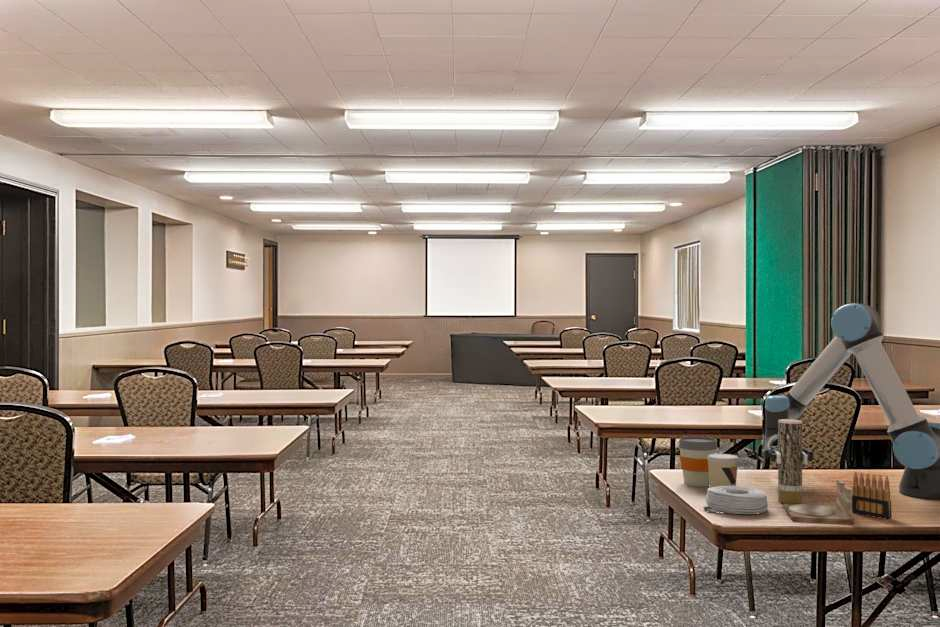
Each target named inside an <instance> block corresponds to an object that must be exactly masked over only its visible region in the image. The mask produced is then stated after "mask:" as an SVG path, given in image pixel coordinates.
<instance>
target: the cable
mask: <svg viewBox="0 0 940 627" xmlns="http://www.w3.org/2000/svg"><path fill="white" fill-rule="evenodd" d="M706 492H707V493H706V497H705V502H706V505H705V506H703V510H704V509H707V510H706V512H707V511H709V512H708V513H711V512H723V513H733V514H732V515H758V514H757V513H761V514H763V513H762V512H764V513H766V512H767V510H768V499H767V497H768V495H767V493H766V492H765V491H763V490H762V489H760V488H756V487H751V486H743V485H742V486H741V485H736V486H718V487H711V488H710V487H708V488H707V490H706ZM723 513H722V514H723Z"/></svg>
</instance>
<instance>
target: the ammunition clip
mask: <svg viewBox="0 0 940 627" xmlns="http://www.w3.org/2000/svg"><path fill="white" fill-rule="evenodd" d="M870 477H871V476H870V474H869V472H867V473H866V476H865V477H864V473H863V472H861V473H860V474H859V478H858V473H857V471H855V472H854V473H853V479H852V481H853V482H852V512H853V513H852V514H855V513H858V514H857V515H861V514H863V516H866V515H869V516H868V517H871V516H875V517H874V518H877V517H881V518H880V519H882V518H886V519H885V520H888V519H889V520H891V519H890V518H892V500H891V490H890V489H891V487H890V480H889V476H887V475H886V476H885V480H884V481H883V478H882V475H881V474H880V475H879V476H878V480H877V477H876V475H875V473H873V474H872V479H871V478H870ZM858 479H859V480H858ZM892 519H893V518H892Z"/></svg>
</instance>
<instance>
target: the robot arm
mask: <svg viewBox="0 0 940 627" xmlns="http://www.w3.org/2000/svg"><path fill="white" fill-rule="evenodd" d="M880 325H881V319H880V315H879V313H878V311H877V309H875V307H873V306H870V305H869V304H865V303H856V302H851V303H847V304H844V305H842V306H840V307H838V308H837V309H836V310H835V311H834V312H833V314H832V316H831V318H830V326H831V327H830V328H831V330H832V332H833V334H834V335H835V336H834V337H833V338H832V339H831V341H830V342H829V343H828V345H826V347H824V349H823V350H822V351H821V352H820V353H819V355H818V356H817V357H816V358H815V360H814V361H813V362H812V363H811V364H810V365H809V367H808V368H807V369H806V371H805V372H804V373H803V374H802V375H801V376H800V377H799V379H797V381H796V382H795V384H794V385H793V386H792V387H791V388H790V389H789V391H788V392H787V393H786V394H785V395H767V396H766V397H765V404H764V409H765V412H764V414H765V416H764V417H765V419H764V420H765V422H764V423H765V424H764V426H765V429H764V430H765V431H764V433H765V434H764V437H763V445H762V447H761V454H762V455H763V456H764V459H765V460H768V459H769V458H770V462H774V463H775V462H776V463H777V464H781V454H780V453H779V452H778V421H779V420H780V419H793V420H798V418H799V417H801V416H802V415H803V413H804V411H805V410H804V409H806V408H807V406H808V405H809V404H810V403H811V402H812V400H813V399H814V398H815V397H816V395H818V393H819V392H820V391H821V390H822V389H823V387H825V385H826V384H827V383H828V382H829V380H830V379H831V378H833V377H834V374H836V372H837V371H838V370H839V369H840V368H841V367H842V366H843V365H844V364H845V362H846V361H847V360H848V358H849V357H850V356H851V355H852V354H853V355H854V357H855V359H856V361H857V363H858V365H859V367H860V369H861V370H862V372H863V375H864V377H865V379H866V381H867V383H868V385H869V387H870V388H871V391H872V393H873V394H874V396H875V398H876V401H877V402H878V405H879V406H880V409H881V411H882V412H883V415H884V416H885V418H886V421H887V423H888V427H887V428H888V429H887V430H886V432H887V435H888V436H889V439H890V440H891V443H892V444H893V445H892V449H893V454H894V457H895V458H896V460H897V461H898V462H899V463H900V464H901V465H903V466H904V470H903V473H902V477H901V478H900V481H899V485H898V491H899V493H900V494H903V495H905V496H911V497H914V498H920V499H933V500H936V499H937V500H940V422H932V421H931V422H929V421H928V419H927V418H926V417H924V416H923V415H920V414H918V411H917V410H916V408H915V406H914V405H913V403H912V400H911V398H910V396H909V394H908V392H907V391H906V388H905V387H904V385H903V383H902V381H901V378H900V377H899V375H898V373H897V371H896V369H895V367H894V365H893V363H892V361H891V360H890V357H889V356H888V354H887V351H886V350H885V349H886V348H884V346H883V344H882V341H883V339H884V334H883V332H882V330H881V329H880ZM808 461H814V451H812V450H810V449H809V448H808V447H806V446H802V464H804V465H808Z"/></svg>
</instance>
